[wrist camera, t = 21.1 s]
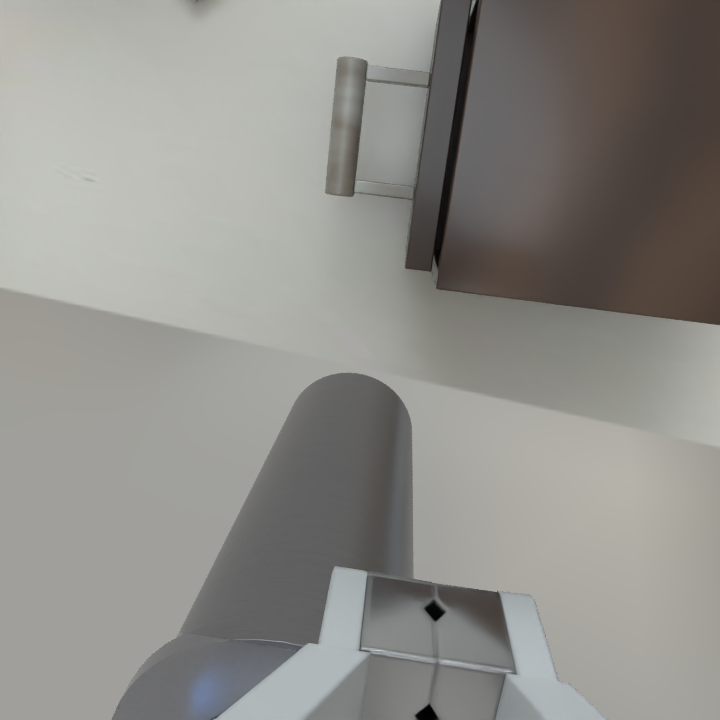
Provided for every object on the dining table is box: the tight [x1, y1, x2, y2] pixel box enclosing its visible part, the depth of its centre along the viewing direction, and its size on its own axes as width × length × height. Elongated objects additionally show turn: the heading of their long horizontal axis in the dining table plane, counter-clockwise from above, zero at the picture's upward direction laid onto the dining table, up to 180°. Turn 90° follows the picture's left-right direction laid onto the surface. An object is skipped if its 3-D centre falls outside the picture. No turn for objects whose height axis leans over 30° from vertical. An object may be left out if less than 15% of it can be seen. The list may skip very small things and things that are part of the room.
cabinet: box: [432, 0, 720, 325], centre depth 28 cm, size 15×13×9 cm
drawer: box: [325, 0, 472, 271], centre depth 28 cm, size 18×11×7 cm, turn 83°
